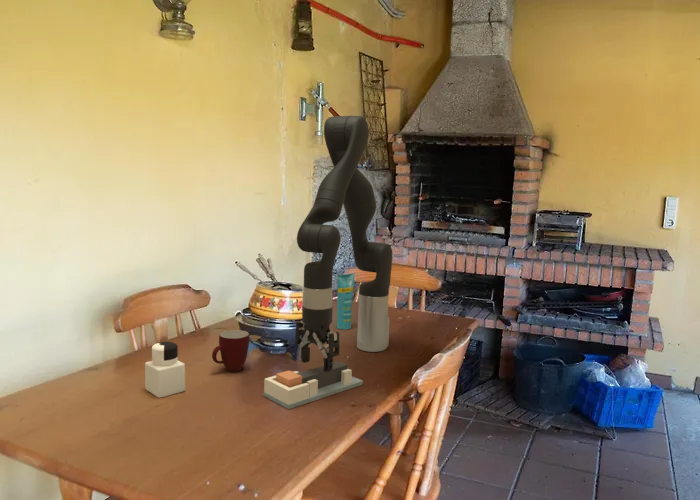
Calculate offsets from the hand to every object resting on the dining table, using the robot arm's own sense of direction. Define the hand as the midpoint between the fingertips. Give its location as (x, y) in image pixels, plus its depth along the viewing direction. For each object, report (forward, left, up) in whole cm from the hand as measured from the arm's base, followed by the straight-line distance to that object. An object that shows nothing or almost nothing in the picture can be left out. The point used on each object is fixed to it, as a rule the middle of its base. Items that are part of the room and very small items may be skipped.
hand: (316, 366), depth 150 cm
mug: (+9, -25, -6) cm, 27 cm away
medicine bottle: (+29, -23, -6) cm, 38 cm away
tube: (-44, -36, -6) cm, 57 cm away
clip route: (0, 0, -6) cm, 6 cm away
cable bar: (+1, 0, -5) cm, 5 cm away
